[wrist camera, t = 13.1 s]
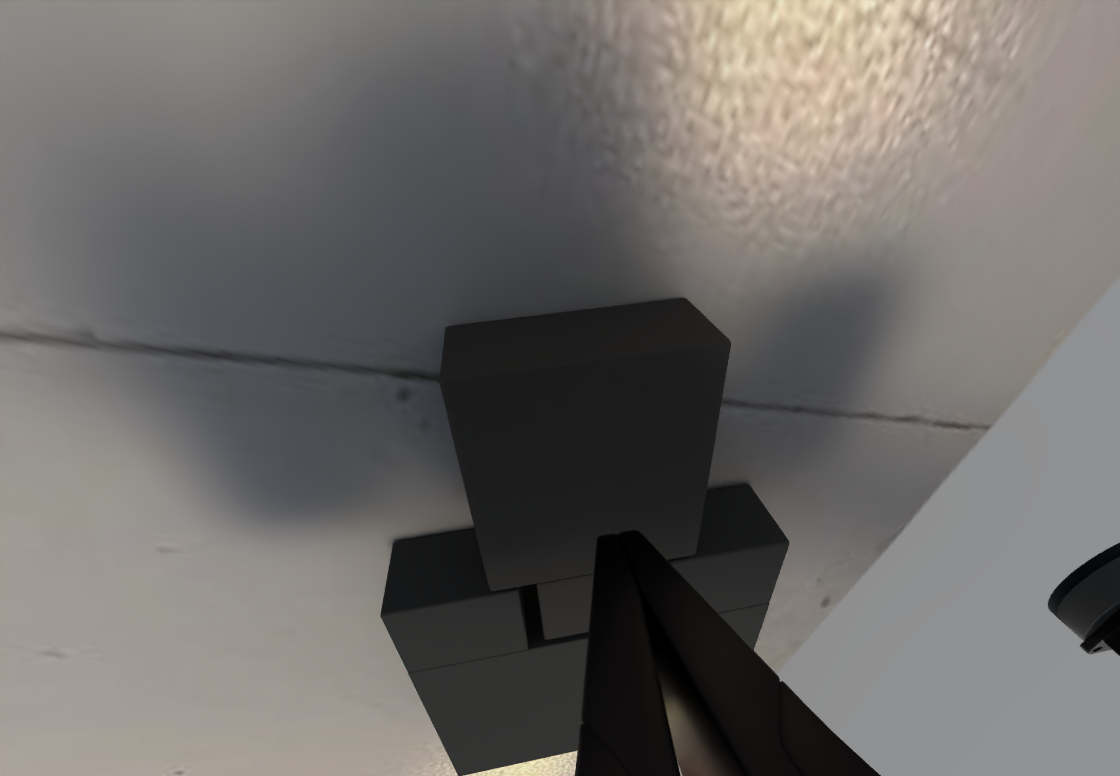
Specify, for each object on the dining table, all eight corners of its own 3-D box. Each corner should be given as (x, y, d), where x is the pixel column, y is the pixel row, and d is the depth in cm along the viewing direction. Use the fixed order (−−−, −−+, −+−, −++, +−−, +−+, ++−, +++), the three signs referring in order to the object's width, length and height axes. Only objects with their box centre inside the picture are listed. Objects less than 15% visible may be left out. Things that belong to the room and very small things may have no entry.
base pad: (749, 482, 16) (791, 542, 14) (707, 659, 22) (731, 717, 20) (392, 541, 14) (379, 616, 12) (459, 709, 21) (458, 777, 19)
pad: (686, 296, 11) (733, 340, 9) (660, 550, 17) (686, 613, 15) (444, 325, 11) (437, 380, 9) (499, 578, 16) (503, 649, 14)
